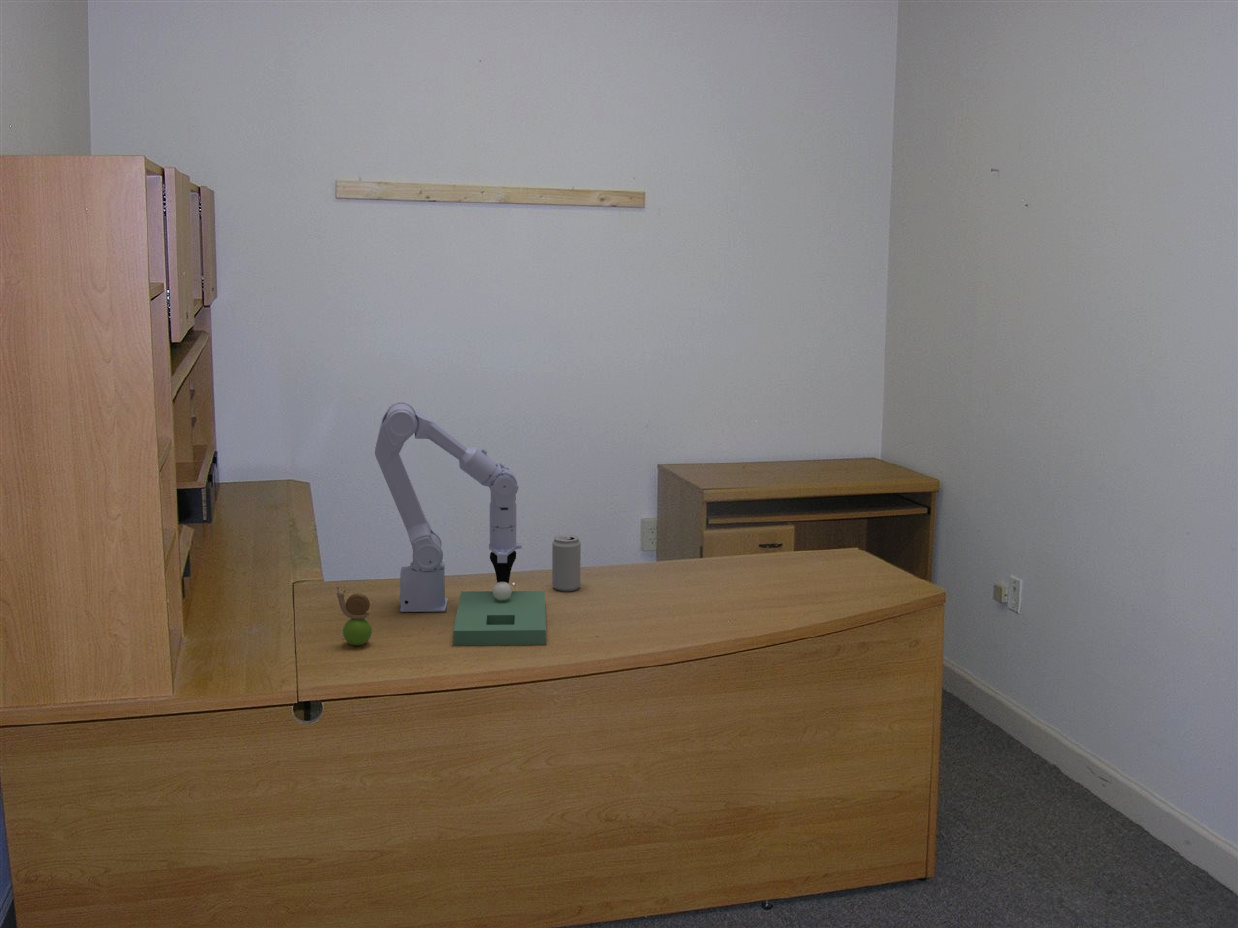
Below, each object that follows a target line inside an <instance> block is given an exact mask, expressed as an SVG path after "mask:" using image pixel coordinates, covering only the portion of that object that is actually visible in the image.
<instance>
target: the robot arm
mask: <svg viewBox="0 0 1238 928" xmlns="http://www.w3.org/2000/svg"><path fill="white" fill-rule="evenodd" d="M413 435H414V439H416V440H420V439H421V440H424V439H425V440H429V441H430V442H432V443H434V444H435V445H437V446H438V447H439V448H441V449H443V450H444V451H445V452H447V453H448V454H449V455H451V456H453V457H454V458H456V459H457V460H458V463H459V465H458V466H459V469H460V470H462V471H463V472H464V473H466V474H467V475H468V476H469V477H471V478H472V479H474V480H475V481H476V482H478V483H479V484H480V485H482V486H483V487H488V488H489V489H490V490H489V491H490V502H489V544H488V550H489V551H491V552H490V553H489V561H490V563H491V564H492V567H493V569H494V572H495V578H496V584H497V583H499V582H506V583H508V584H509V583H510V577H511V571H512V568H513V565H514V563H515V561H516V559H517V551H516V550H517V549H518V550H520V549H522V545H523V544H522V543H519V542H518V543H517V502H516V501H517V495H516V494H517V493H518V492H519V491H518V490H519V485H518V481H517V479H516V477H515V474H514V473H513V472H512V471H511V470H510V469H509V467H506V466H505V464H504V463H503V462H500V463H499V462H497V461H496V460H494V458H492V457H490V455H488V454H487V453H488V451H487V450H486V449H485V448H484V447H481V449H480V448H479V447H477V446H473V447H467V445H465V444H464V443H462V442H461V441H460V440H458V439H457V438H456V437H455V436H454V435H453V434H451V433H450V432H449V431H447V430H446V429H445V428H444V427H443V426H441V425H440V424H439V423H437V422H436V421H435V420H434V419H433V418H431V417H429V416H428V415H426V414H425V413H423V412H422V411H420V410H418V409H416V411H415V409H414V407H413V406H412V405H410V404H409V403H406V402H402V401H401V402H396V403H393V404H391V405H390V406H389V407H388V409H387V410H386V412H385V414H384V415H383V417H382V418H381V423H380V426H379V432H378V435H377V439H376V442H375V443H376V444H375V448H374V449H375V450H374V456H375V458H376V461H377V464H378V465H379V468H380V471H381V472H382V475H383V477H384V479H385V482H386V485H387V487H388V490H389V491H390V494H391V496H392V499H393V500H394V503H395V506H396V508H397V511H398V513H399V515H400V517H401V520H402V523H403V525H404V527H405V529H406V532H407V536H408V539H409V541H410V542H409V543H410V545H411V547H412V548H411V549H412V561H411V562H410V565H409V566H408V565H407V566H401V569H400V573H399V574H400V575H399V577H400V578H399V588H400V589H399V600H400V608H399V609H400V612H401V613H409V612H410V613H418V612H419V613H421V612H422V613H423V612H424V613H429V612H430V613H432V612H434V613H435V612H438V613H440V612H441V613H442V612H446V610H447V607H448V602H449V598H448V597H446V581H445V579H446V576H445V575H446V574H445V572H446V571H445V567H446V566H445V562H443V559H444V552H443V550H442V539H441V537H440V536H439V535H438V534H437V533H436V532H434V530H432V527H431V526H430V523H429V522H428V520H427V518H426V515H425V512H424V511H423V508H422V506H421V503H420V501H419V499H418V496H417V494H416V491H415V489H414V486H413V484H412V482H411V479H410V477H409V474H408V472H407V470H406V467H405V465H404V462H403V460H402V458H401V455H400V453H401V450H402V449H403V447H404V445H405V443H406V442H407V441H409V439H410V438H411V437H412V436H413ZM509 585H510V584H509Z"/></svg>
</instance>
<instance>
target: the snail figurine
mask: <svg viewBox="0 0 1238 928" xmlns="http://www.w3.org/2000/svg"><path fill="white" fill-rule="evenodd" d="M335 587H336V590H337V592H336V595H337V596H336V597H337V599H338V603H339V604H338V605H339V607H340V610H341V611H342V613H343V615H344V616H346V617H347V618H350V619H349V620H347V621H346V623H345V624H344V626H343V630H342V635H343V638H344V640H345V641H346V642H347V643H348V644H350V645H352V646H362V645H364V644H366V643H367V642H369V640H370V638H371V637H372V633H373V631H372V629H373V628H372V626H371V624H370V622H369V621H368V620H367V619H366V618H368V617H369V615H370V614H371V612H368V611H369V609H370V606H371V603H370V600H369V598H368V597H367V596H366V595H365V594H362V593H360V592H359V593H357V592H356V593H353V594H351V595H350V596H348V598H347V599H346V601H345V593H344V591H341V590H339V589H340V588H341V586H340V585H339V584H338V585H336V586H335Z"/></svg>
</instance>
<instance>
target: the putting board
mask: <svg viewBox="0 0 1238 928" xmlns="http://www.w3.org/2000/svg"><path fill="white" fill-rule="evenodd" d="M546 617H547V616H546V592H545V590H512V593H511V596H510V597H509V598H508V599H507V600H505V601H500V600H497V599H496V598H495V597H494V595H493V590H492V591H491V590H490V591H489V590H488V591H487V590H485V591H484V590H483V591H482V590H479V591H478V590H477V591H476V590H475V591H467V590H466V591H465V590H463V591H461V592H460V595H459V601H458V605H457V611H456V614H455V620H454V625H453V631H452V635H453V636H452V643H453V646H520V645H521V646H532V645H533V646H538V645H539V646H541V645H547V641H546V640H547V626H546V625H547V623H546V622H547V621H546Z"/></svg>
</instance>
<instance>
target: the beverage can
mask: <svg viewBox="0 0 1238 928" xmlns="http://www.w3.org/2000/svg"><path fill="white" fill-rule="evenodd" d="M551 544H552V546H551V549H552V551H551V552H552V555H551V556H552V558H551V559H552V561H551V562H552V564H551V565H552V567H551V568H552V570H551V573H552V574H551V575H552V576H551V577H552V578H551V585H552V587H553V588H554V589H555V590H557V591H559V592H574V591H576V590H577V589H578V588H579V587H580V586H581V559H582V558H581V550H582V549H581V541H580V537H579V536H578V535H575V534H559V535H556V536H554V537H553V541H552V543H551Z"/></svg>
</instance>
